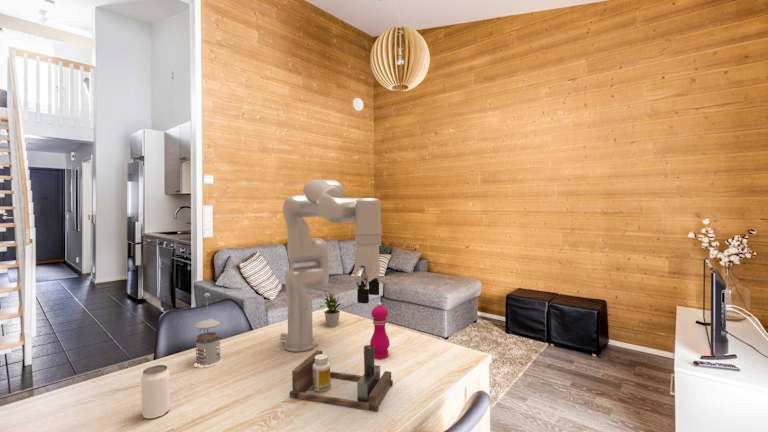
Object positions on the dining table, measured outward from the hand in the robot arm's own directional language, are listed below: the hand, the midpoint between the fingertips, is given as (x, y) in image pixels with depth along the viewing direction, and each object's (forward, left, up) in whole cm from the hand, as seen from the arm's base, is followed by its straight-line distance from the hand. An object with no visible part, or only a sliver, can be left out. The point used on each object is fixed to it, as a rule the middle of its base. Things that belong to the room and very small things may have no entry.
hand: (368, 298), depth 109 cm
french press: (-63, +6, -29) cm, 70 cm away
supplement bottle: (-15, 0, -29) cm, 33 cm away
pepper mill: (-5, +28, -29) cm, 40 cm away
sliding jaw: (0, 0, -29) cm, 29 cm away
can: (-52, -25, -29) cm, 65 cm away
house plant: (-38, +55, -29) cm, 73 cm away
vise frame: (-8, 0, -29) cm, 30 cm away
